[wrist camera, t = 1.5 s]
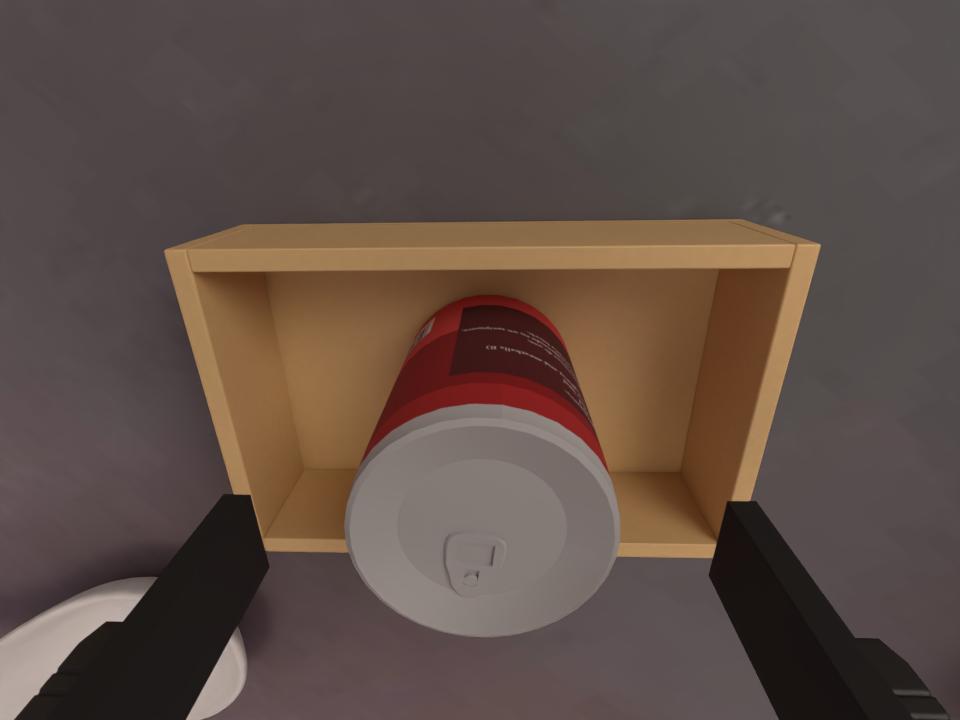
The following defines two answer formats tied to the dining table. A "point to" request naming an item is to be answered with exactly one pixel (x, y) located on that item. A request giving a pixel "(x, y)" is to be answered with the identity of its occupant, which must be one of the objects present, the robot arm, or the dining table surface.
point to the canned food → (484, 479)
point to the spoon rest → (57, 631)
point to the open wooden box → (516, 274)
